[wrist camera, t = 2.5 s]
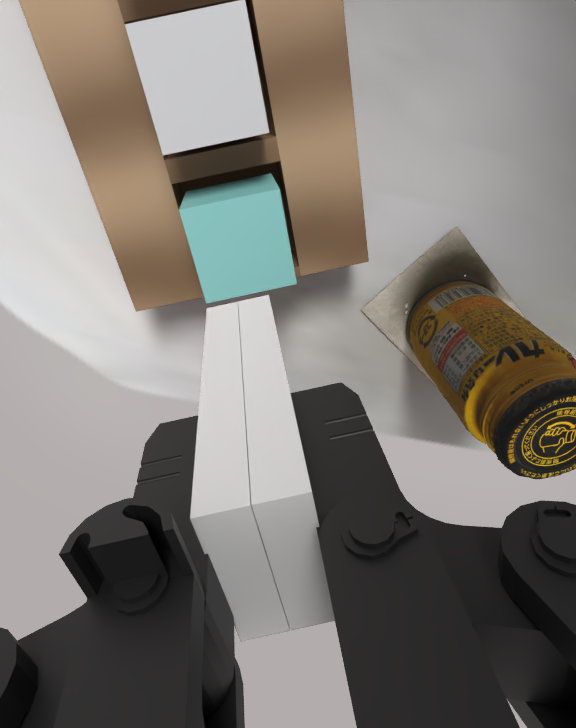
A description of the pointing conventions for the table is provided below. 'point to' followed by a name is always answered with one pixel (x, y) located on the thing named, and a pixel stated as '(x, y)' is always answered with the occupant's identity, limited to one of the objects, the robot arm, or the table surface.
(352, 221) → the wooden tray
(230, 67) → the grey cube
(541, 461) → the condiment
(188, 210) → the teal cube
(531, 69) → the table surface
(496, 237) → the table surface
